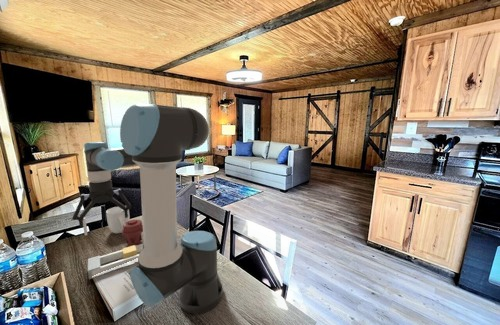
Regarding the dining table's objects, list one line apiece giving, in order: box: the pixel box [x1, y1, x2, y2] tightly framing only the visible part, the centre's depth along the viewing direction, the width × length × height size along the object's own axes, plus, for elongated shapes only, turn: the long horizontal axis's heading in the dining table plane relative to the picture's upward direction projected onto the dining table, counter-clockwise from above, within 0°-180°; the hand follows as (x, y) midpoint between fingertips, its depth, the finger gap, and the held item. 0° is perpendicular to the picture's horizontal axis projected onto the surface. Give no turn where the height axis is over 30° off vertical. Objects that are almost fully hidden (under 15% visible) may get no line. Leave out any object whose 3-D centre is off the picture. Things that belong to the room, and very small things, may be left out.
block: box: [121, 245, 138, 259], centre depth 94 cm, size 5×5×5 cm
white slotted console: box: [87, 243, 144, 280], centre depth 92 cm, size 9×21×4 cm, turn 127°
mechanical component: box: [121, 219, 143, 247], centre depth 106 cm, size 12×10×10 cm
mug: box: [105, 205, 131, 234], centre depth 118 cm, size 15×11×13 cm
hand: (106, 229), depth 88 cm, fingers open, 13 cm apart
